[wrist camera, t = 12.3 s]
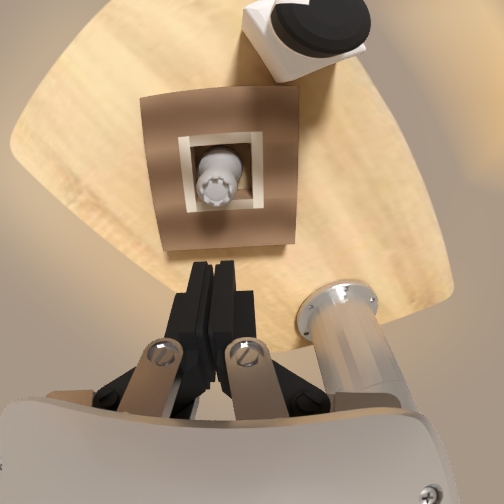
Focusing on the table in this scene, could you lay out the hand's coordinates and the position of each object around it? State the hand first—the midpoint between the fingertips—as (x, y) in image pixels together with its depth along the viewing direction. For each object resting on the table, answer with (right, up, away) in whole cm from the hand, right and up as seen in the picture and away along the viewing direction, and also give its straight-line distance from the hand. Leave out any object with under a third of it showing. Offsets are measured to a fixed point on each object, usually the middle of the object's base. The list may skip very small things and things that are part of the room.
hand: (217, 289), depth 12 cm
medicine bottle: (+5, +22, +9) cm, 24 cm away
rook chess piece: (-2, +10, +16) cm, 19 cm away
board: (-1, +10, +16) cm, 19 cm away
